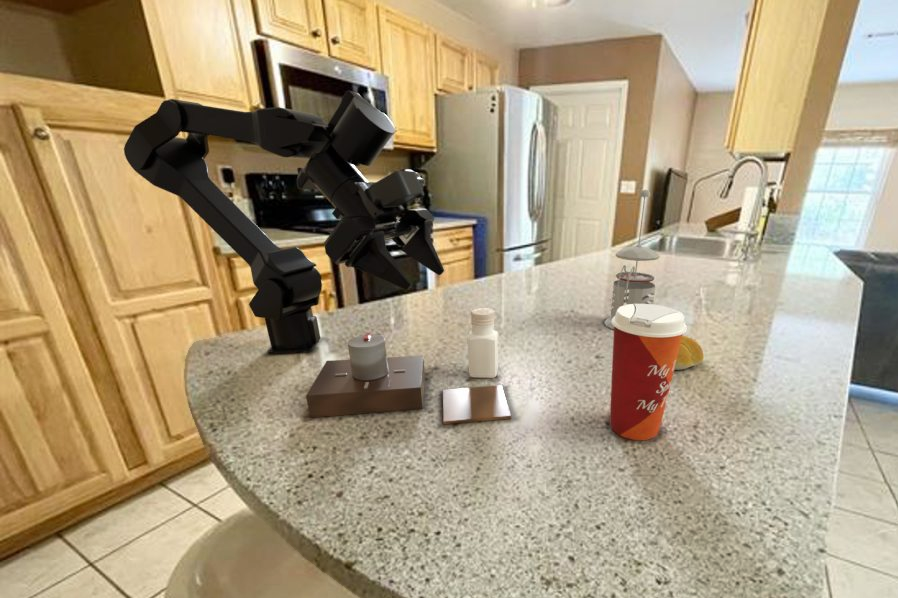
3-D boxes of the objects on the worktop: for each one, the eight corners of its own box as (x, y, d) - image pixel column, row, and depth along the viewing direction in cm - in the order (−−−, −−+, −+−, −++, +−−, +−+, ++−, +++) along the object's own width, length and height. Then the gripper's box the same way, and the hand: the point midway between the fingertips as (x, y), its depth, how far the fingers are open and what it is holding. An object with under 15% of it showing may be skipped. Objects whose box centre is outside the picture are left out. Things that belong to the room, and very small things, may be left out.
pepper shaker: (496, 379, 60) (495, 315, 56) (468, 378, 60) (466, 315, 56) (498, 367, 64) (498, 307, 60) (472, 367, 64) (470, 306, 60)
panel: (310, 417, 50) (305, 394, 49) (330, 380, 59) (326, 359, 58) (422, 408, 52) (420, 386, 51) (425, 374, 61) (423, 354, 60)
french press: (661, 322, 85) (680, 190, 75) (643, 339, 76) (662, 191, 66) (615, 313, 89) (628, 188, 80) (592, 329, 80) (604, 189, 71)
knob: (386, 379, 53) (382, 343, 51) (349, 381, 52) (343, 345, 50) (390, 364, 57) (386, 331, 55) (355, 366, 56) (350, 333, 54)
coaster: (443, 424, 49) (443, 421, 49) (442, 392, 56) (442, 389, 56) (511, 418, 50) (511, 415, 50) (502, 387, 58) (502, 385, 57)
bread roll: (711, 363, 66) (716, 339, 65) (674, 375, 62) (678, 351, 60) (668, 346, 73) (672, 324, 71) (632, 356, 68) (635, 333, 67)
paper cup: (657, 454, 44) (678, 329, 39) (590, 431, 48) (601, 314, 43) (676, 421, 50) (696, 309, 45) (615, 403, 54) (627, 298, 49)
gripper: (330, 139, 45) (428, 252, 47) (418, 150, 62) (489, 233, 63) (284, 212, 50) (374, 311, 52) (377, 204, 67) (443, 279, 68)
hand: (426, 279), depth 58 cm, fingers open, 9 cm apart
